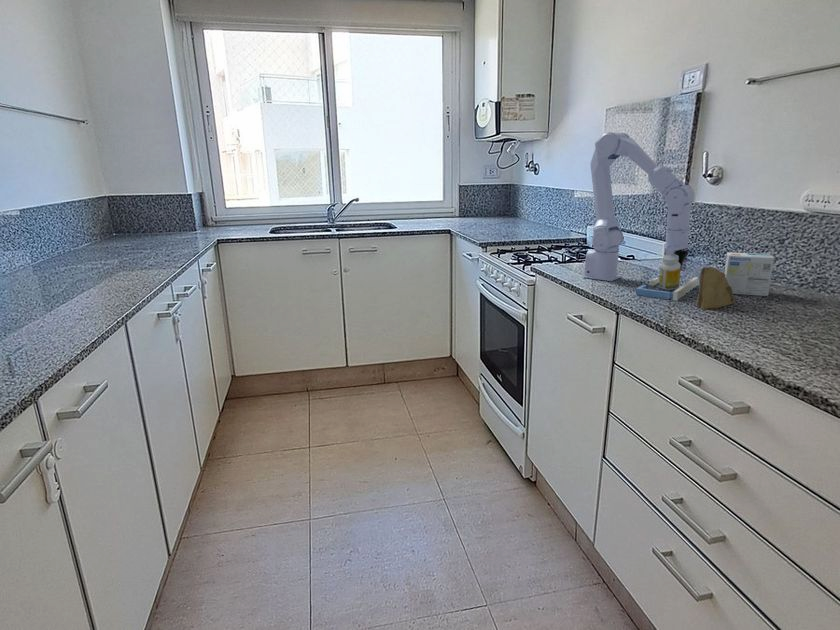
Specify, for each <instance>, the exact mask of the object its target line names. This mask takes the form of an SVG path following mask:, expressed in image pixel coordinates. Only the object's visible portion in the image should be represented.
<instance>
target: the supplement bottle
mask: <svg viewBox="0 0 840 630" xmlns="http://www.w3.org/2000/svg"><path fill="white" fill-rule="evenodd" d="M678 261H679V256H678V255H676V254H674V255H665V254H664V255H663V256H662V262H661V263H660V264H659V275H658V276H659V277H658V278H659V283H658V286H659V288H661V290H663V291H675V290H676V289H678V288H679V287H680V283H681V271H682V267H681V264H680V263H679V262H678ZM680 270H681V271H680Z"/></svg>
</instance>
